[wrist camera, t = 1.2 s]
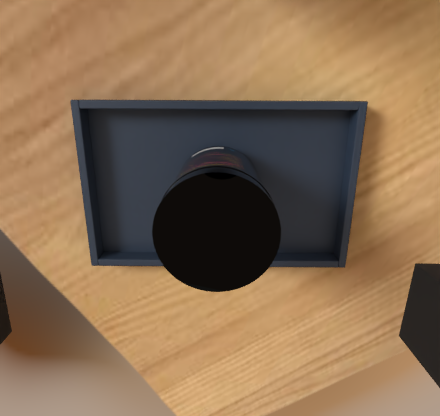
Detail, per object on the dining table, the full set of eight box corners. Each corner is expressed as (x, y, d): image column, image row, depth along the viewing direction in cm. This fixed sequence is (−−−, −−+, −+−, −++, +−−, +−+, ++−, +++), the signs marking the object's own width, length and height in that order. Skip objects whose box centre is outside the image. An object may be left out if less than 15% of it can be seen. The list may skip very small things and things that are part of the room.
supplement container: (196, 235, 29) (182, 307, 19) (163, 162, 27) (129, 200, 17) (271, 208, 28) (298, 268, 18) (243, 130, 26) (256, 151, 16)
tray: (357, 101, 26) (368, 101, 24) (337, 257, 30) (345, 267, 28) (80, 99, 26) (69, 99, 24) (99, 255, 30) (91, 265, 28)
